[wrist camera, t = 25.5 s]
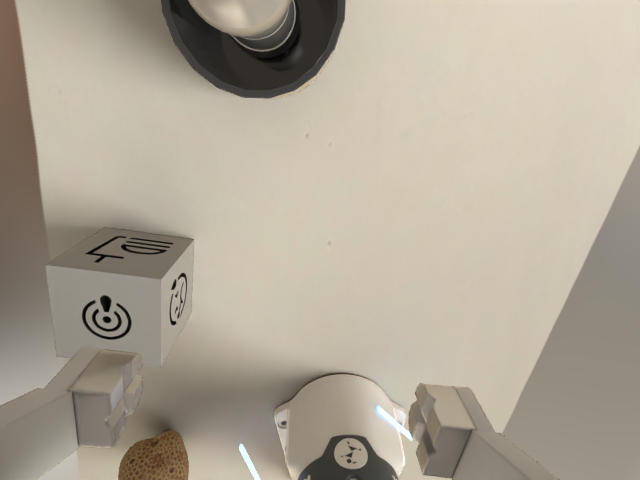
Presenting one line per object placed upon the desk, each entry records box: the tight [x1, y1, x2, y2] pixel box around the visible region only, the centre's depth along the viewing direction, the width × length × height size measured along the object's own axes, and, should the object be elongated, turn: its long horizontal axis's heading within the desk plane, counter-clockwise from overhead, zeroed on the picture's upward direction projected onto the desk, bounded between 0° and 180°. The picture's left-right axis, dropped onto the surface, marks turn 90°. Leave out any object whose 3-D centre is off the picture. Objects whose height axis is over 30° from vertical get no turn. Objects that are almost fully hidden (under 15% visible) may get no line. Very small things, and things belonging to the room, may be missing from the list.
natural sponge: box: [118, 430, 189, 480], centre depth 48 cm, size 9×9×10 cm
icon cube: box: [45, 227, 194, 368], centre depth 39 cm, size 10×10×10 cm
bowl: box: [161, 0, 346, 99], centre depth 30 cm, size 13×13×9 cm
